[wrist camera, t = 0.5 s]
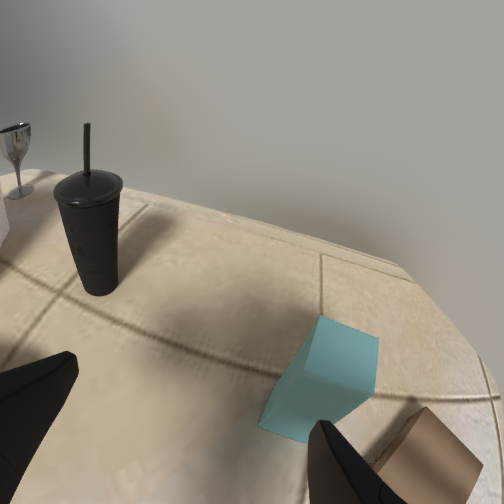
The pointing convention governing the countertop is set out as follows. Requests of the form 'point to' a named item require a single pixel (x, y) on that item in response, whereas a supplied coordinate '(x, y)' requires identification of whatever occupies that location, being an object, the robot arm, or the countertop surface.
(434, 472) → the walnut base
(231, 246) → the countertop surface
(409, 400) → the countertop surface
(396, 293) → the countertop surface
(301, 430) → the teal block
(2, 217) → the milk carton
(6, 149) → the wine glass
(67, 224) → the drinking cup
